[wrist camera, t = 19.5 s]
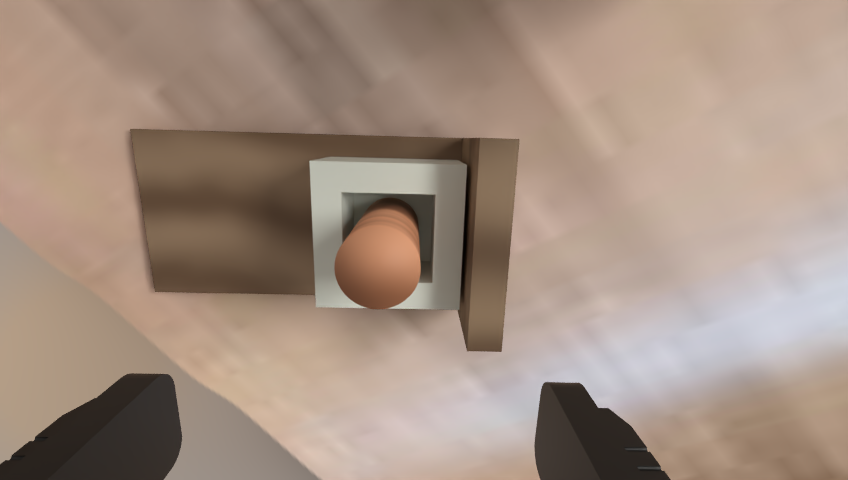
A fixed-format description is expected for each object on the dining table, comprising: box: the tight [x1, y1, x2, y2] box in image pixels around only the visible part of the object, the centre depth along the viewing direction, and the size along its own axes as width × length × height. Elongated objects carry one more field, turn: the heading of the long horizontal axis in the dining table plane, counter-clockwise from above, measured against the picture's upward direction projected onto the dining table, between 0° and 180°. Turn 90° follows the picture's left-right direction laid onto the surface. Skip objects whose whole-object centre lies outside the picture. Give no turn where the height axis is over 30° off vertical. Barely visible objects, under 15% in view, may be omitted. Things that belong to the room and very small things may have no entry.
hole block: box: [309, 157, 467, 310], centre depth 26 cm, size 9×9×6 cm
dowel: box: [334, 198, 421, 309], centre depth 23 cm, size 4×4×10 cm
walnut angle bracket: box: [130, 129, 519, 352], centre depth 26 cm, size 12×25×9 cm, turn 88°
